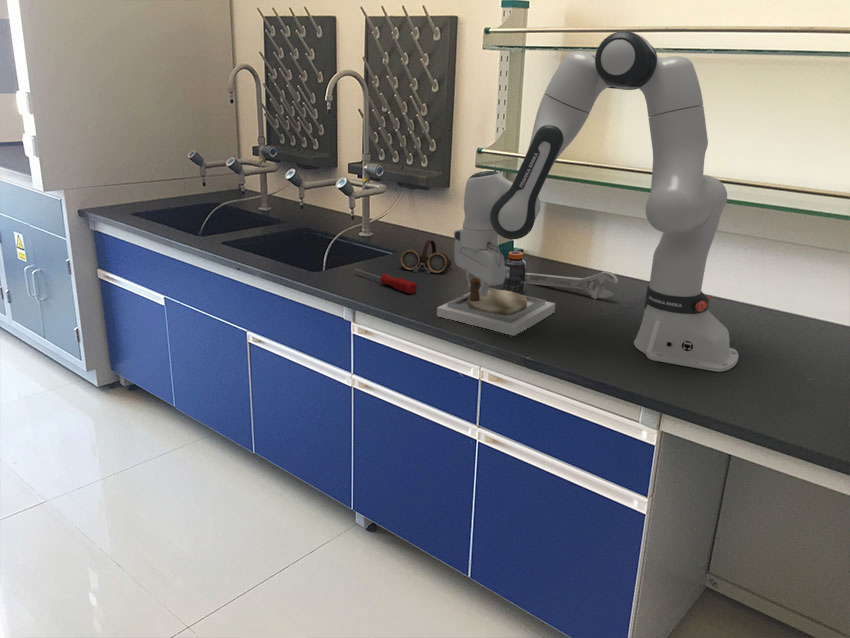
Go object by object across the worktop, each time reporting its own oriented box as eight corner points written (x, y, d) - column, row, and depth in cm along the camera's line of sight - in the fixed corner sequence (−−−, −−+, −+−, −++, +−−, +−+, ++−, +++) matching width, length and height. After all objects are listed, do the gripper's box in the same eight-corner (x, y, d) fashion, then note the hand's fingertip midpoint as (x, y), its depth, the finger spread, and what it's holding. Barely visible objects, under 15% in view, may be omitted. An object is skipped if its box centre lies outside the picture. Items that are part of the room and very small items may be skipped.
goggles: (397, 270, 219) (400, 237, 217) (410, 268, 231) (413, 237, 230) (445, 275, 214) (448, 242, 213) (456, 274, 227) (459, 242, 226)
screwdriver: (359, 273, 215) (359, 262, 214) (418, 293, 199) (418, 281, 198) (350, 276, 213) (350, 264, 212) (409, 296, 197) (409, 283, 195)
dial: (516, 294, 191) (517, 269, 189) (534, 312, 177) (537, 286, 175) (461, 296, 188) (462, 271, 186) (476, 315, 175) (477, 289, 172)
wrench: (522, 290, 213) (618, 301, 195) (519, 292, 212) (615, 302, 194) (521, 264, 211) (618, 272, 193) (518, 265, 210) (615, 273, 191)
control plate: (554, 312, 186) (555, 299, 185) (513, 336, 169) (514, 323, 168) (481, 295, 198) (482, 283, 197) (436, 316, 181) (437, 303, 180)
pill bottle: (526, 290, 204) (529, 251, 200) (520, 295, 199) (523, 256, 195) (506, 287, 206) (509, 248, 202) (499, 292, 201) (502, 253, 197)
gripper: (513, 247, 167) (509, 303, 172) (472, 228, 185) (470, 279, 189) (489, 249, 165) (486, 306, 170) (450, 230, 182) (448, 282, 187)
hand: (477, 292), depth 180 cm, fingers open, 4 cm apart
